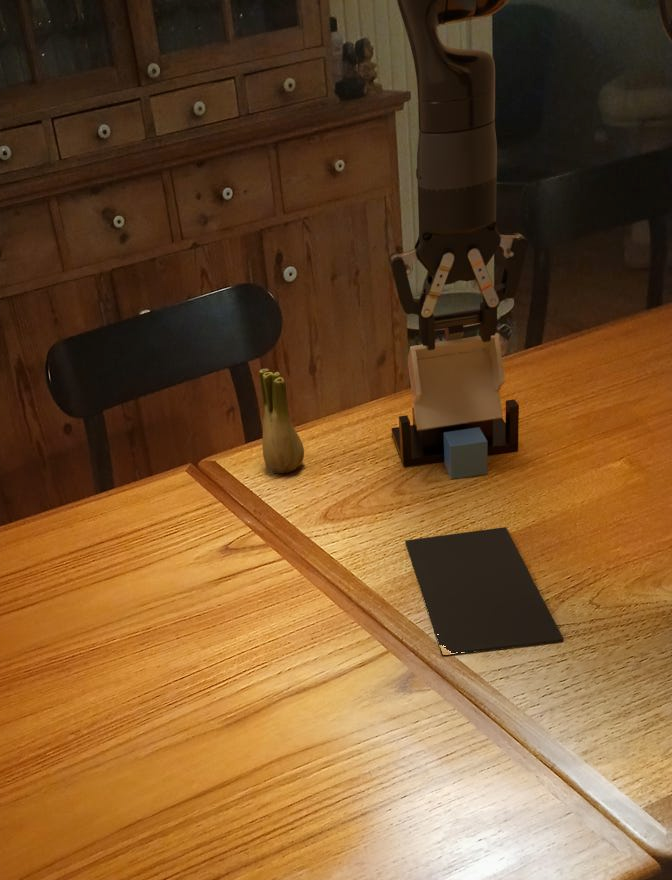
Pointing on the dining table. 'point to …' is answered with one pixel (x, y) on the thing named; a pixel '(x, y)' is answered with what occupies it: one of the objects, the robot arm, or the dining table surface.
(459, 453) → the block
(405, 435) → the stand
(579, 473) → the dining table surface
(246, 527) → the dining table surface
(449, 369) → the open storage bin
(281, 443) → the fennel bulb
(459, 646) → the mat
